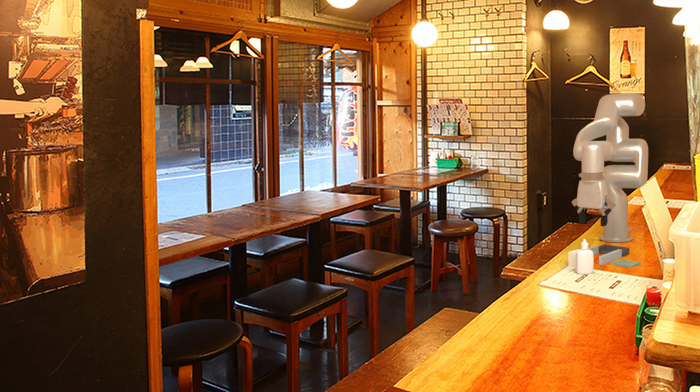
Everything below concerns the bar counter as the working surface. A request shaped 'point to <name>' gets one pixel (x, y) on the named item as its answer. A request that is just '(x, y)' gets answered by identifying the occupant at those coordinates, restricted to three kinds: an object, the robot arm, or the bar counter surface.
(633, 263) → the green coaster
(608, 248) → the tray
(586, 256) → the eye dropper bottle
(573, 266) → the cream block
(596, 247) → the channel
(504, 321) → the bar counter surface
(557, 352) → the bar counter surface
